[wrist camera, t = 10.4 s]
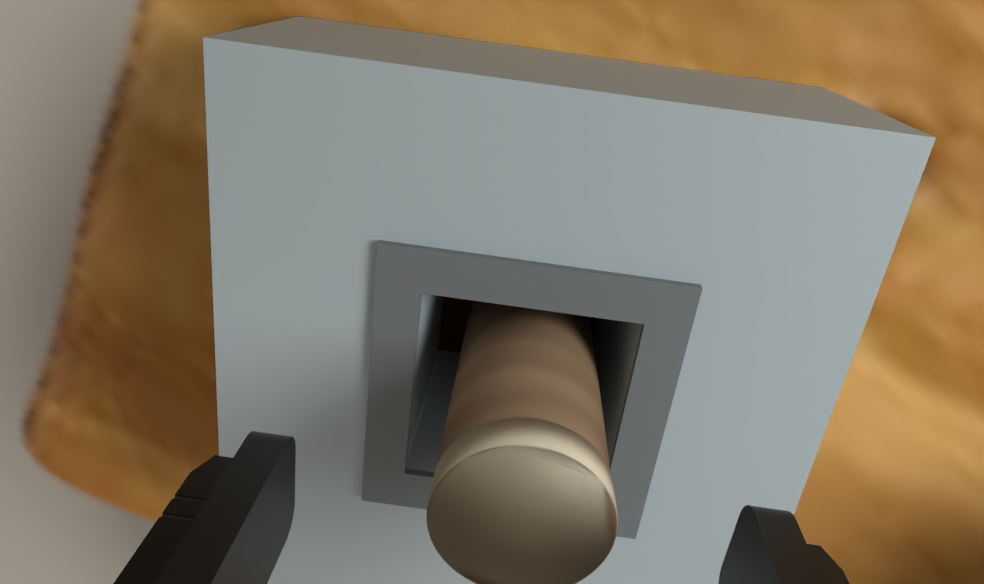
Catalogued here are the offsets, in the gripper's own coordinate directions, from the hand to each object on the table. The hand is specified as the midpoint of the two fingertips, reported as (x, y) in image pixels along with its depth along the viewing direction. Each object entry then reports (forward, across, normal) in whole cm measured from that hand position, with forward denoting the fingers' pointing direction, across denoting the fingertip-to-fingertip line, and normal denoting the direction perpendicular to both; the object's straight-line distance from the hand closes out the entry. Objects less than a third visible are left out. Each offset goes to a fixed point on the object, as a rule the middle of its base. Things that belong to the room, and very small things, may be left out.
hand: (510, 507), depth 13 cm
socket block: (+10, 0, 0) cm, 10 cm away
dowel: (+10, 0, 0) cm, 10 cm away
